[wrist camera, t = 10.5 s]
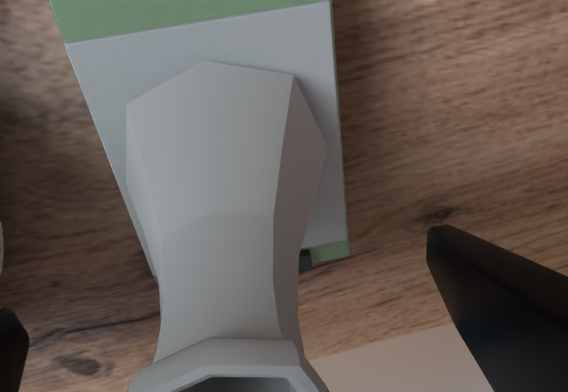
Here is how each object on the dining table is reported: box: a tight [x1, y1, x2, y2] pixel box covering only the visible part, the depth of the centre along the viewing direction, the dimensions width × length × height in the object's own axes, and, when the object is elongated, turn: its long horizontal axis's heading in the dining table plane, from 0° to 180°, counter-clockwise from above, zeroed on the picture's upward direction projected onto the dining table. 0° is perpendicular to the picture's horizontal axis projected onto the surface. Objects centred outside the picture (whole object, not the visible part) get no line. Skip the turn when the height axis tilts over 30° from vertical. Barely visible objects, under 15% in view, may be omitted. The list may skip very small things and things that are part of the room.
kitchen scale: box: [48, 0, 350, 288], centre depth 16 cm, size 12×9×3 cm
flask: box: [126, 61, 329, 392], centre depth 10 cm, size 7×7×10 cm
